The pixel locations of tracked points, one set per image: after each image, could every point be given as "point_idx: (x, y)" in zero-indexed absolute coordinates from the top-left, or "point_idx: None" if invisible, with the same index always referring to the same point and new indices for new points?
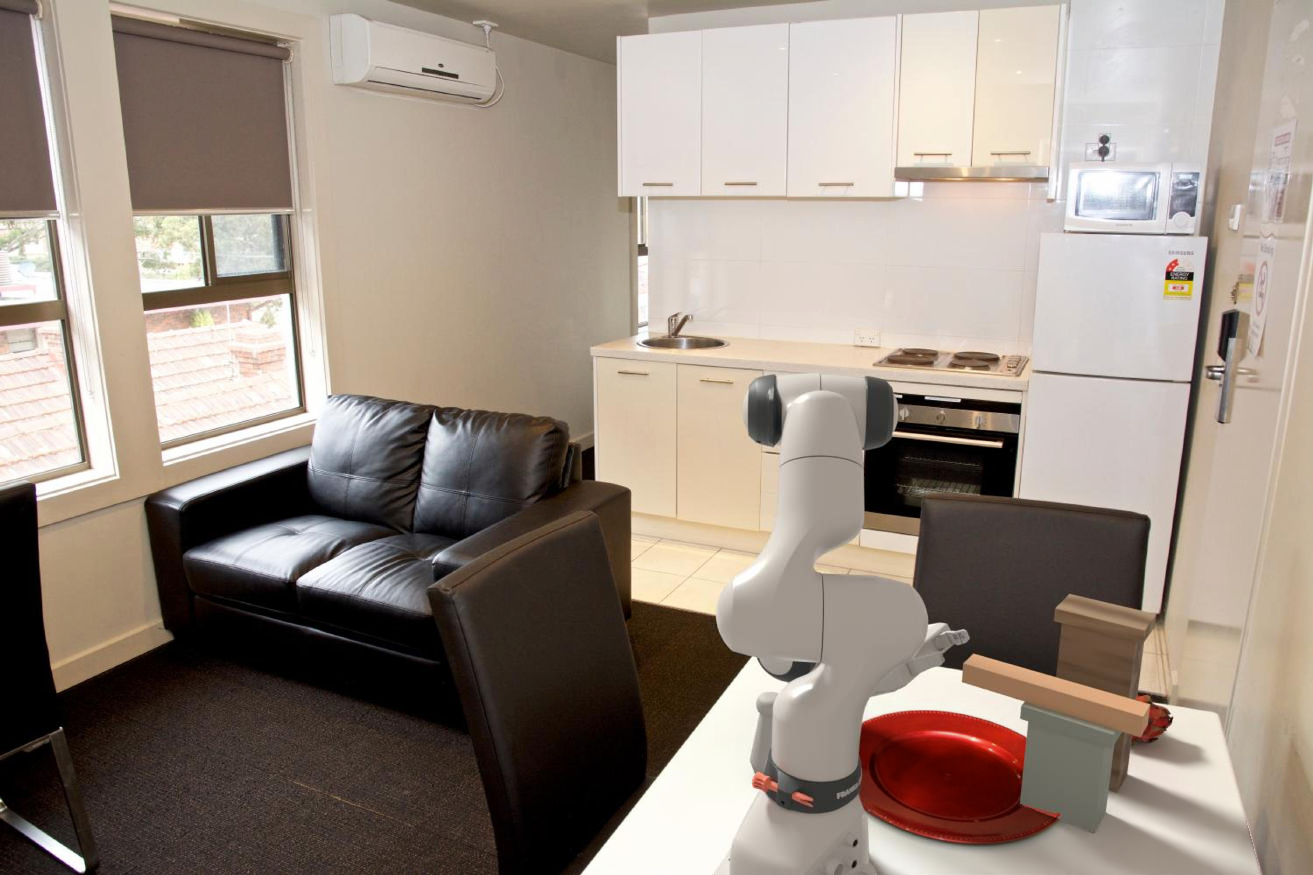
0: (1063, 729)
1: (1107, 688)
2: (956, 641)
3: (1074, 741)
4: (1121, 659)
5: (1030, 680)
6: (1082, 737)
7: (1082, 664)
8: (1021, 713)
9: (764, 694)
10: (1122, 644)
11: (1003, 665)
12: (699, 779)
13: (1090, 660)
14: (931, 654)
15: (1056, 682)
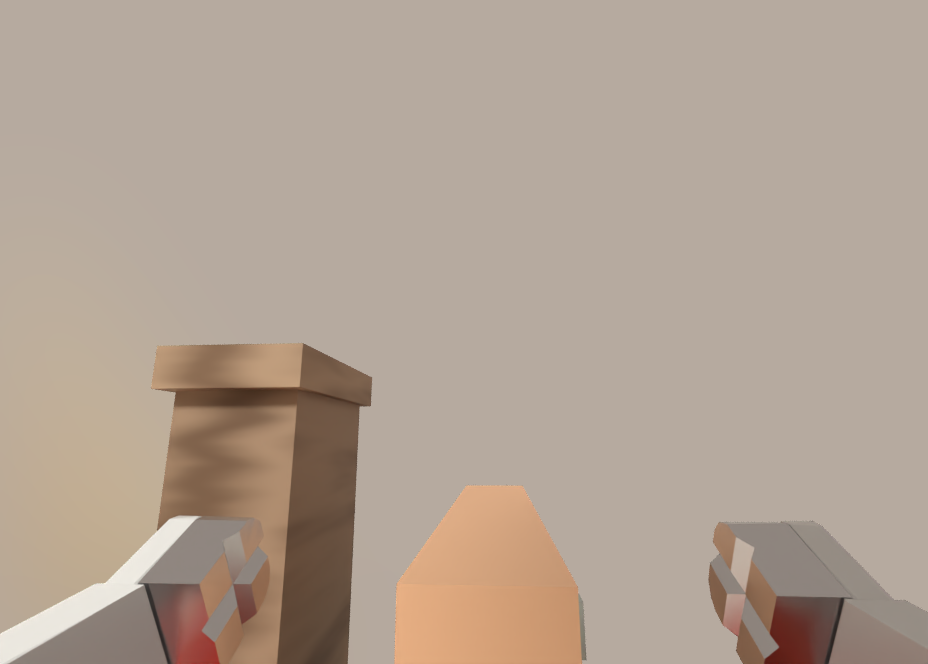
0: None
1: (338, 547)
2: (224, 633)
3: None
4: (350, 457)
5: (521, 518)
6: None
7: (316, 509)
8: (584, 633)
9: None
10: (350, 421)
11: (460, 540)
12: None
13: (325, 487)
14: (829, 555)
15: (481, 508)
